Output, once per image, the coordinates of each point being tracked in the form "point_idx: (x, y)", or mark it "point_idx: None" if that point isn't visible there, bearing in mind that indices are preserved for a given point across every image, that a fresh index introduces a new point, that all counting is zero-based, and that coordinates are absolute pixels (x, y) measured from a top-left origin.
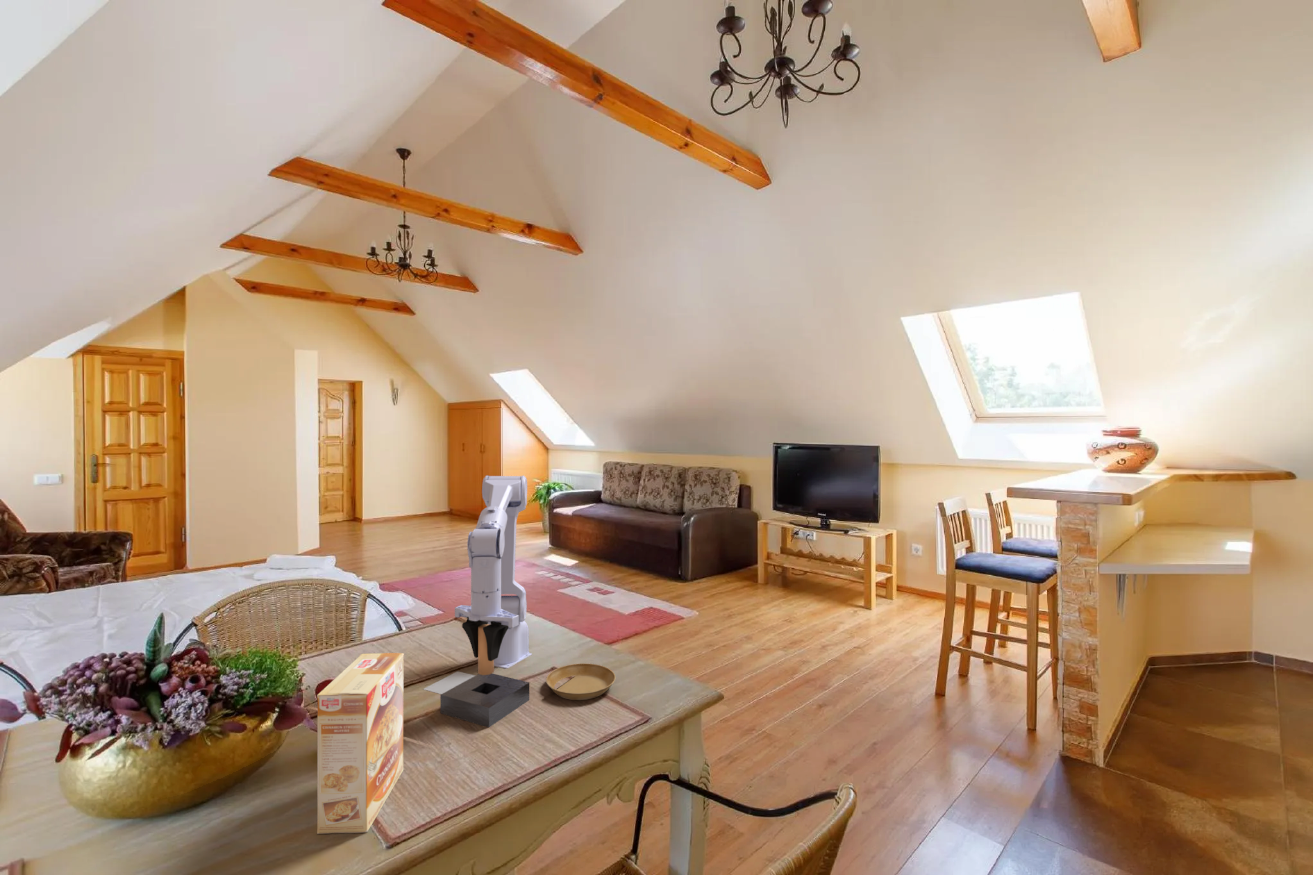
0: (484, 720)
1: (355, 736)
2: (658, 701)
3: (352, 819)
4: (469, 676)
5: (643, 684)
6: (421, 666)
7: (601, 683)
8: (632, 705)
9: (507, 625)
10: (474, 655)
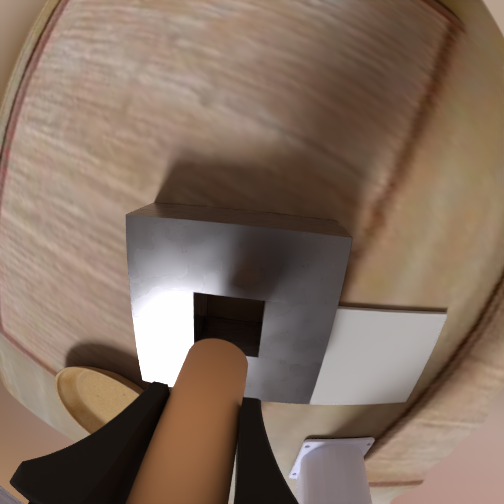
0: (161, 207)
1: None
2: (20, 372)
3: None
4: (370, 397)
5: (63, 414)
6: (477, 382)
7: (103, 417)
8: (29, 359)
9: (4, 489)
10: (253, 403)
